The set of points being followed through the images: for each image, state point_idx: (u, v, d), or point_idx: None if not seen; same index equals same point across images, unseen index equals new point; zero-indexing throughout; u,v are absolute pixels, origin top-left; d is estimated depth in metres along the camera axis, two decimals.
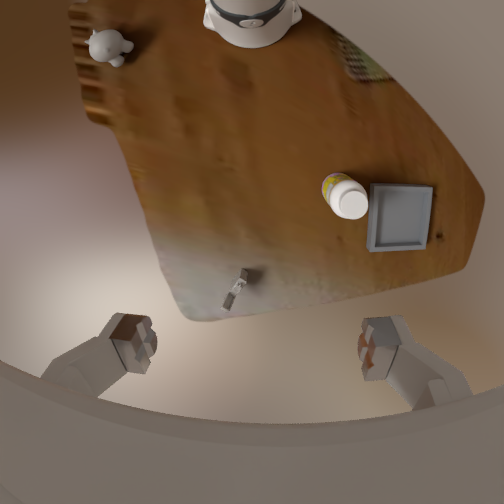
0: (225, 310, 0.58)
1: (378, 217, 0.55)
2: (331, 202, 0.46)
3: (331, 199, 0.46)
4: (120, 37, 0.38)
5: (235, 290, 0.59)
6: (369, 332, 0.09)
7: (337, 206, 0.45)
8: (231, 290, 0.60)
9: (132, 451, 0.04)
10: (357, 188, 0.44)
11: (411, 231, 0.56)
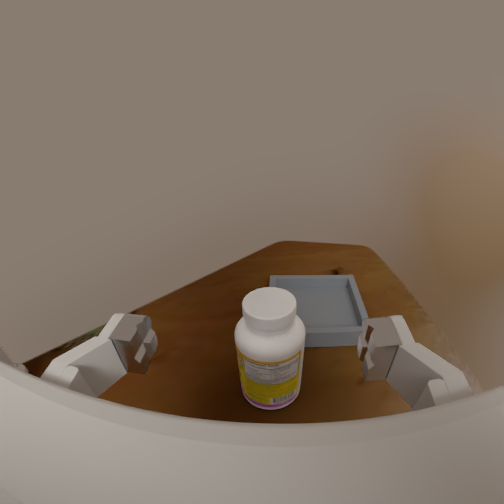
0: None
1: None
2: (272, 354, 0.23)
3: (265, 353, 0.23)
4: None
5: None
6: (369, 332, 0.09)
7: (279, 340, 0.23)
8: None
9: (132, 451, 0.04)
10: None
11: (333, 295, 0.44)
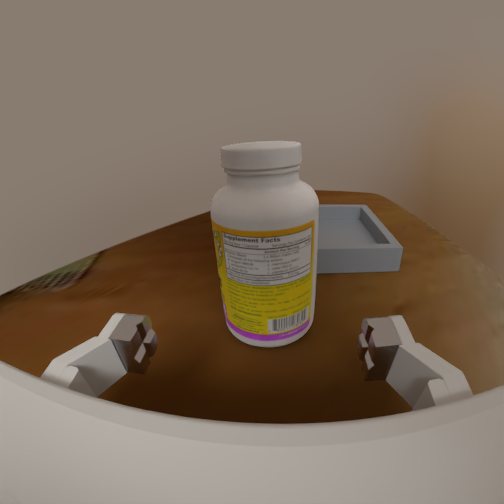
0: None
1: None
2: (267, 213, 0.14)
3: (256, 213, 0.14)
4: None
5: None
6: (369, 332, 0.09)
7: (278, 194, 0.15)
8: None
9: (132, 451, 0.04)
10: None
11: (345, 225, 0.36)
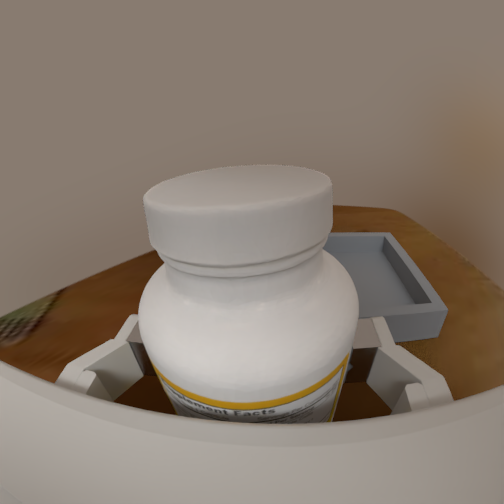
0: None
1: None
2: (245, 373, 0.06)
3: (220, 371, 0.06)
4: None
5: None
6: None
7: (274, 320, 0.06)
8: None
9: (132, 451, 0.04)
10: None
11: (365, 262, 0.27)
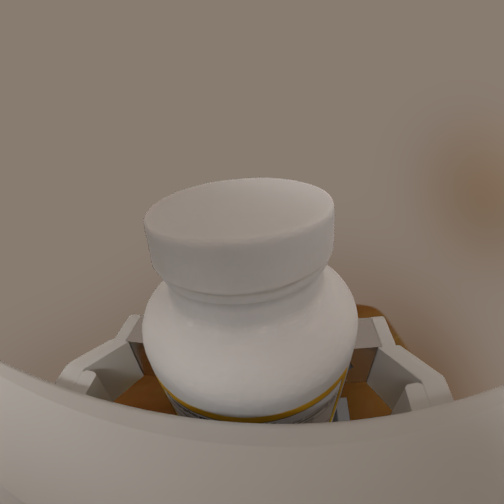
0: None
1: None
2: (248, 393, 0.06)
3: (224, 391, 0.06)
4: None
5: None
6: None
7: (276, 342, 0.06)
8: None
9: (132, 451, 0.04)
10: None
11: None
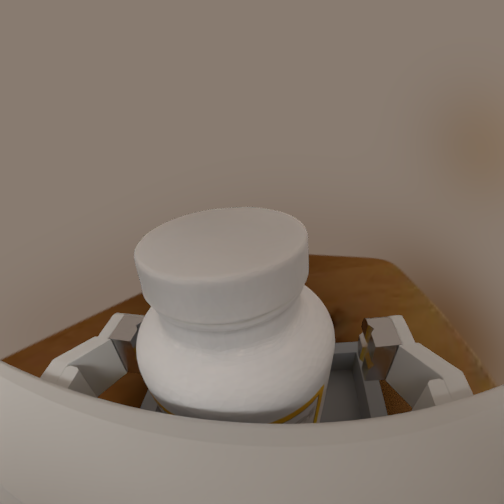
0: None
1: None
2: (227, 408, 0.06)
3: (206, 406, 0.06)
4: None
5: None
6: (369, 332, 0.09)
7: (252, 364, 0.07)
8: None
9: (132, 451, 0.04)
10: None
11: None
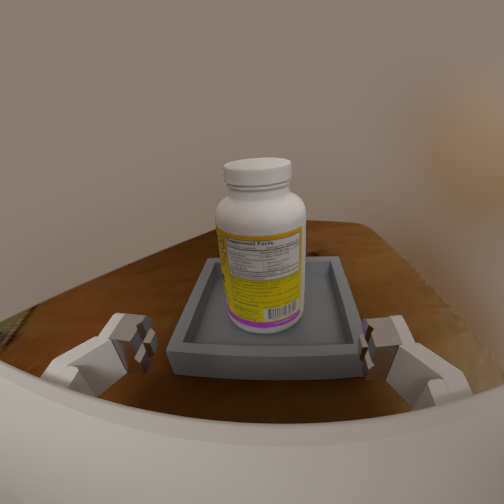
0: None
1: None
2: (262, 221, 0.18)
3: (253, 221, 0.18)
4: None
5: None
6: (369, 332, 0.09)
7: (271, 205, 0.18)
8: None
9: (132, 451, 0.04)
10: None
11: (306, 288, 0.28)
